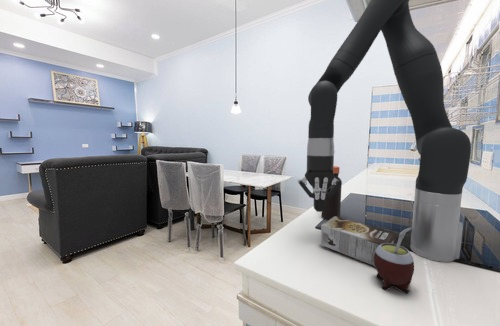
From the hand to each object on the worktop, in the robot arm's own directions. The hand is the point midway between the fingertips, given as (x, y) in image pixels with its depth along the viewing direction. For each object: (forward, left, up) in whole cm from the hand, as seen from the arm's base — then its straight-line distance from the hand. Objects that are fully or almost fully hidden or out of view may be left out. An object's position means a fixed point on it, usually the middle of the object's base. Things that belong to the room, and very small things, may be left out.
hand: (318, 210), depth 66 cm
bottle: (-9, -18, -9) cm, 22 cm away
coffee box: (-2, +2, -5) cm, 6 cm away
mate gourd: (-10, +21, -9) cm, 25 cm away
